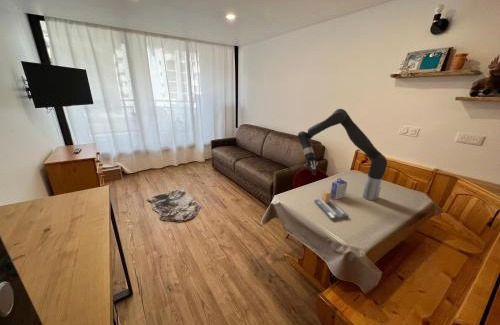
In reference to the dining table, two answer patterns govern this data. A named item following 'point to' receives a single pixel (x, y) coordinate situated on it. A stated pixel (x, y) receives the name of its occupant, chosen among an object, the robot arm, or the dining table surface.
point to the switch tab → (326, 196)
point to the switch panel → (331, 209)
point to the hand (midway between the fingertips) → (314, 174)
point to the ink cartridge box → (338, 189)
